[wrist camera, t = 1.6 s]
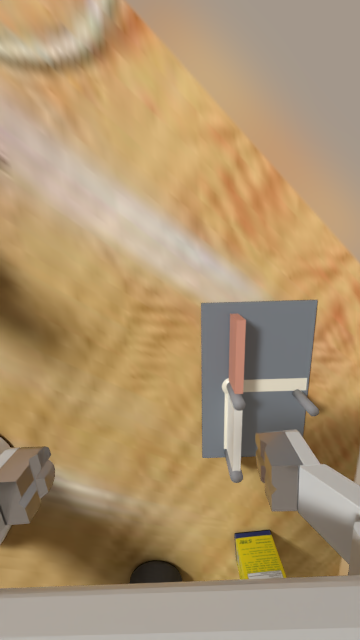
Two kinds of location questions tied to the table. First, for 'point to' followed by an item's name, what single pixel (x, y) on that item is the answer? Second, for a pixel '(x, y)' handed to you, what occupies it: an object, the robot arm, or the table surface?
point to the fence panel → (237, 352)
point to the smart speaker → (155, 573)
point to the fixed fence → (235, 428)
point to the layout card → (256, 369)
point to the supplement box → (258, 556)
